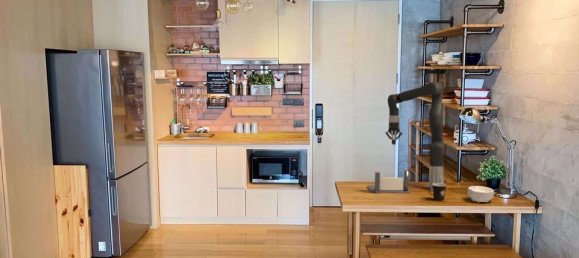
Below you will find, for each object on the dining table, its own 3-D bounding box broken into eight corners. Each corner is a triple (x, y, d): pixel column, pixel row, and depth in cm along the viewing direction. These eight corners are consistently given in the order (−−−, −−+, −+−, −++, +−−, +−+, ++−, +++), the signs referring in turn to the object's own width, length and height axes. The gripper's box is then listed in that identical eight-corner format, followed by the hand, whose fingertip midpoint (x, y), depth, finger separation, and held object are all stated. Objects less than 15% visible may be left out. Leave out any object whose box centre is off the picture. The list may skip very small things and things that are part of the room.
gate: (402, 189, 315) (402, 171, 314) (402, 190, 313) (403, 172, 311) (374, 189, 316) (375, 171, 315) (375, 190, 314) (375, 172, 313)
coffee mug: (444, 198, 299) (444, 183, 297) (447, 201, 290) (447, 186, 289) (425, 197, 300) (426, 182, 299) (428, 201, 291) (429, 186, 290)
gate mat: (405, 187, 328) (405, 185, 328) (410, 193, 312) (410, 191, 311) (367, 186, 330) (367, 185, 330) (370, 192, 313) (370, 191, 313)
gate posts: (407, 191, 316) (407, 170, 314) (408, 192, 313) (409, 171, 311) (374, 192, 314) (374, 170, 312) (375, 193, 311) (375, 171, 309)
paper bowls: (496, 204, 284) (496, 192, 283) (470, 203, 286) (470, 191, 286) (489, 198, 299) (490, 186, 298) (465, 197, 301) (465, 185, 300)
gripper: (384, 121, 335) (384, 145, 337) (403, 122, 332) (402, 145, 334) (385, 120, 343) (384, 143, 344) (403, 121, 339) (402, 144, 341)
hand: (393, 144), depth 339 cm, fingers closed
